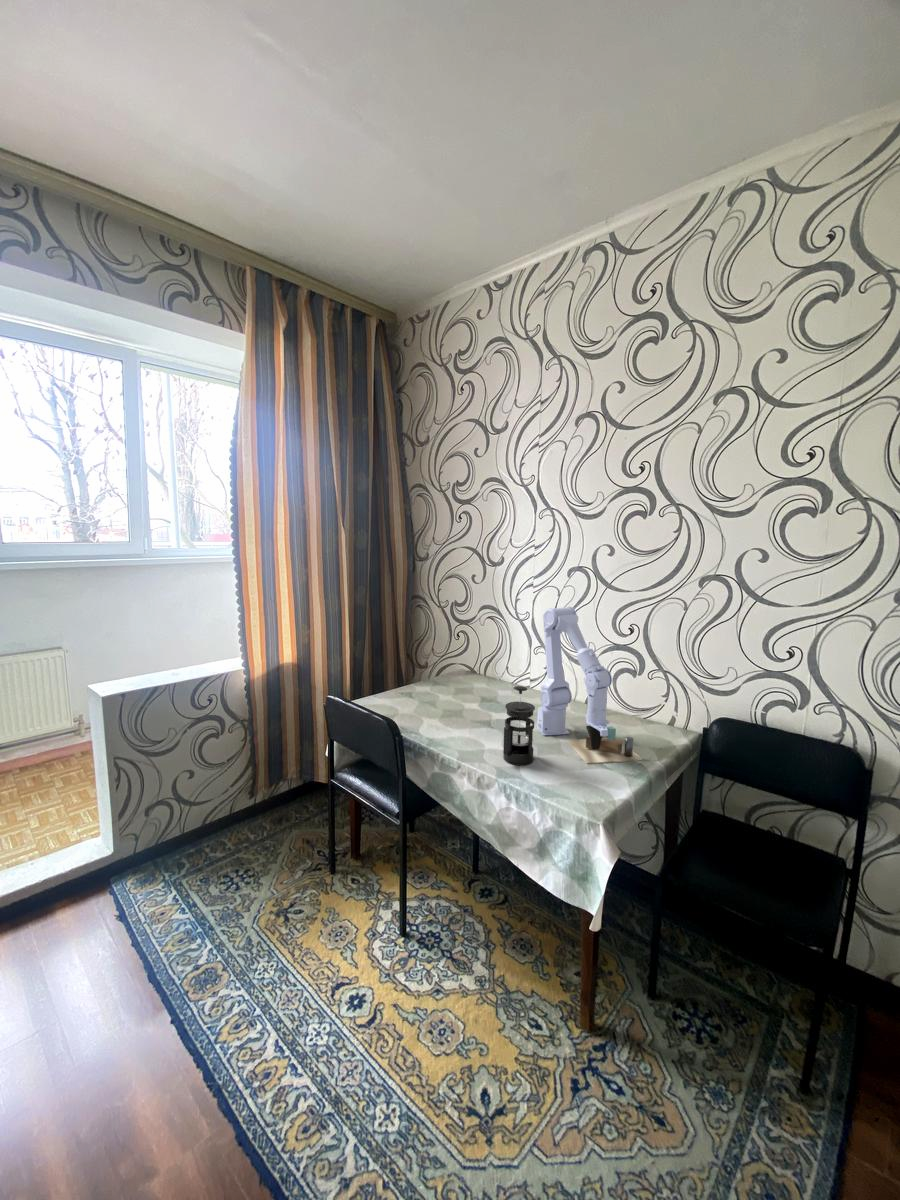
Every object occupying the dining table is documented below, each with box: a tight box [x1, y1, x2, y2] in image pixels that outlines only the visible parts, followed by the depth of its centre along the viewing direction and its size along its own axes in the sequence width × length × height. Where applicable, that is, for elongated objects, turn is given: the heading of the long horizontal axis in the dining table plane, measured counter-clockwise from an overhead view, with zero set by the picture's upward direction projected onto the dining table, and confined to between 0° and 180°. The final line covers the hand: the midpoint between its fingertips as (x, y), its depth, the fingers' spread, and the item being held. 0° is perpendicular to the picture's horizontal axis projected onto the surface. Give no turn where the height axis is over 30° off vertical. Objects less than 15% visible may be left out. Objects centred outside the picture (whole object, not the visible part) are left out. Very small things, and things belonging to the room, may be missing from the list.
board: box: [566, 736, 643, 765], centre depth 158 cm, size 18×16×1 cm
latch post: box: [606, 726, 617, 740], centre depth 165 cm, size 2×2×4 cm
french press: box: [502, 685, 536, 767], centre depth 150 cm, size 12×9×23 cm
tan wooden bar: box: [585, 734, 623, 754], centre depth 156 cm, size 11×2×4 cm, turn 67°
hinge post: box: [624, 736, 634, 757], centre depth 153 cm, size 2×2×6 cm
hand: (595, 748), depth 155 cm, fingers closed, pressing on tan wooden bar
